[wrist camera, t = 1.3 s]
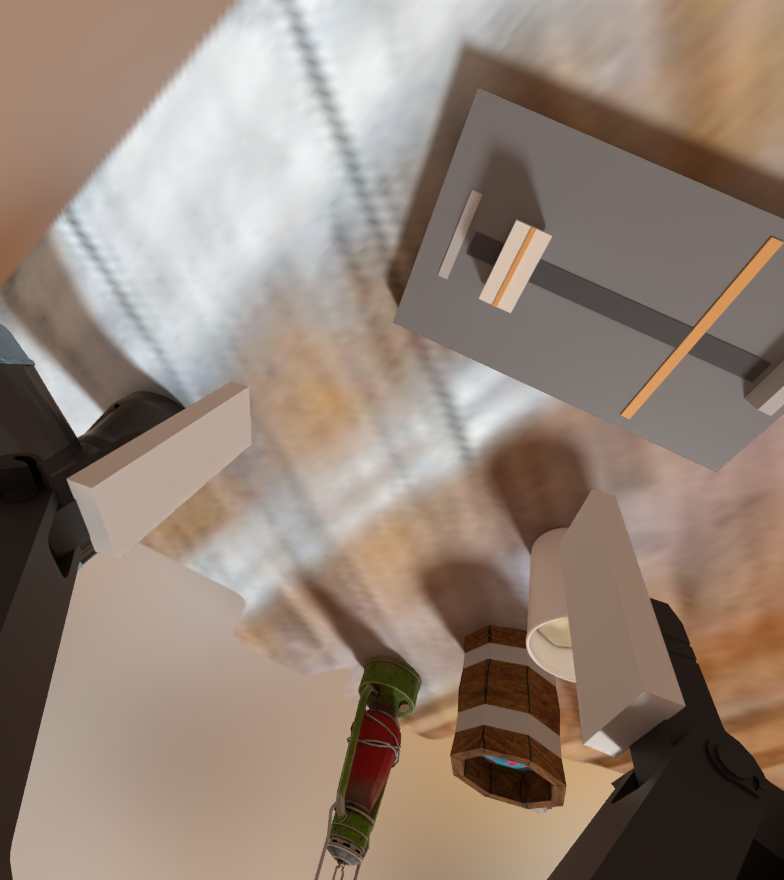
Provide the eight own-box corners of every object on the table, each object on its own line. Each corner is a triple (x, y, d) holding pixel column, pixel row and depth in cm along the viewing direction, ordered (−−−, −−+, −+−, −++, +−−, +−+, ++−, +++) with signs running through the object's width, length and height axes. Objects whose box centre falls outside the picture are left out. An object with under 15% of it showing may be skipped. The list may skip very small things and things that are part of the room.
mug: (447, 629, 57) (427, 744, 45) (536, 620, 51) (542, 751, 39) (500, 705, 64) (496, 825, 51) (586, 706, 57) (605, 842, 45)
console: (401, 314, 36) (386, 328, 31) (481, 99, 27) (474, 78, 22) (702, 453, 34) (727, 486, 30) (893, 276, 25) (965, 289, 21)
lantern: (434, 698, 68) (386, 975, 44) (383, 695, 73) (313, 944, 48) (403, 649, 63) (329, 931, 38) (350, 649, 68) (254, 901, 43)
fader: (483, 289, 29) (478, 298, 26) (516, 218, 27) (516, 220, 23) (511, 301, 29) (510, 313, 26) (548, 232, 27) (552, 236, 23)
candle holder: (566, 506, 41) (581, 600, 31) (638, 555, 42) (676, 663, 32) (506, 552, 47) (503, 644, 37) (571, 595, 47) (585, 697, 37)
